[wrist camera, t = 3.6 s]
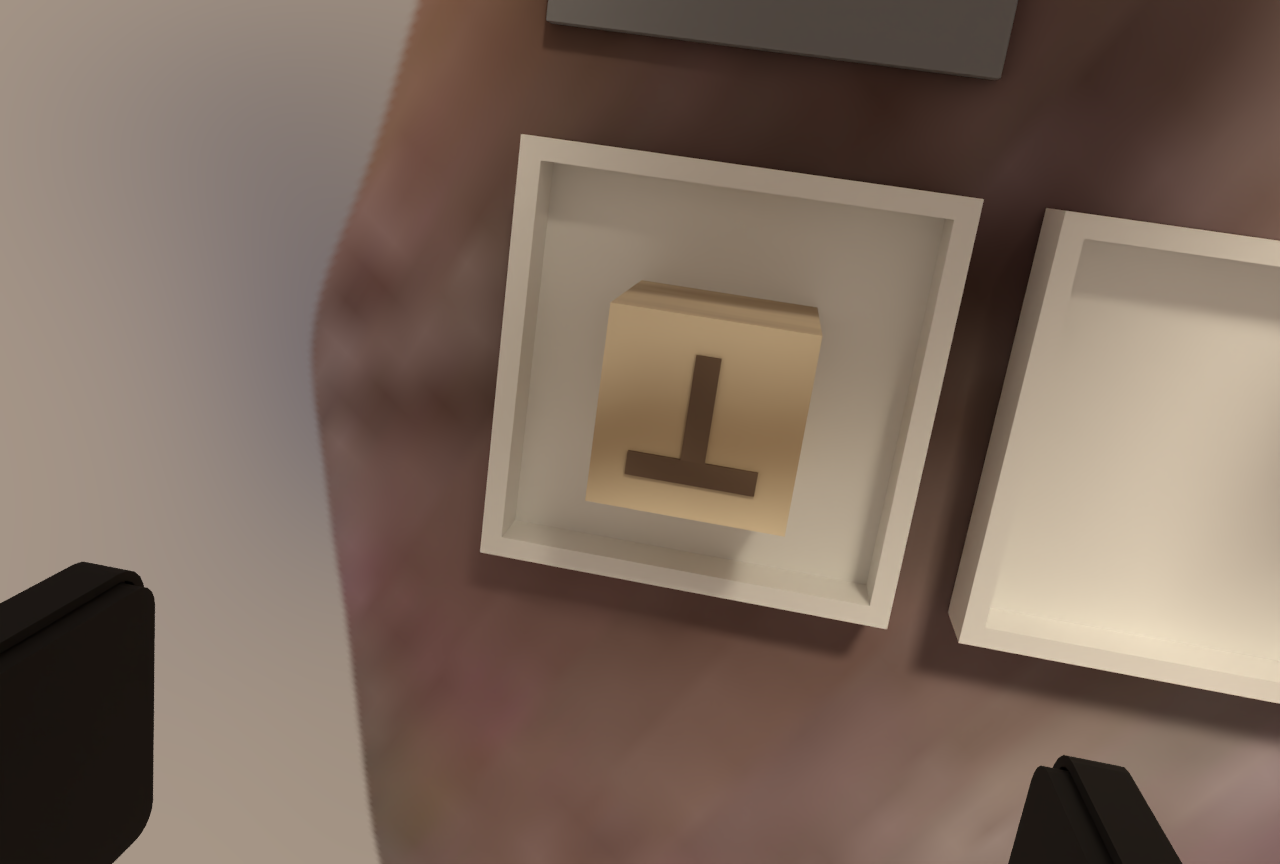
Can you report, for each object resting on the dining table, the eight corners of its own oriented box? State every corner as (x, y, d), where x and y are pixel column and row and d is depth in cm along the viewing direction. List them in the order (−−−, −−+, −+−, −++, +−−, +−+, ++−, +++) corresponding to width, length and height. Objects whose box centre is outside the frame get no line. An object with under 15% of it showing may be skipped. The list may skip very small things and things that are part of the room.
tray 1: (539, 136, 28) (521, 134, 26) (970, 197, 27) (983, 199, 25) (499, 529, 31) (479, 552, 29) (881, 599, 30) (886, 629, 28)
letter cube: (641, 279, 28) (609, 302, 23) (817, 307, 27) (822, 336, 23) (618, 450, 29) (583, 505, 25) (785, 479, 29) (784, 542, 24)
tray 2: (1046, 207, 26) (1065, 211, 25) (1528, 276, 25) (1589, 284, 23) (947, 612, 30) (958, 643, 28) (1370, 691, 28) (1412, 728, 26)
